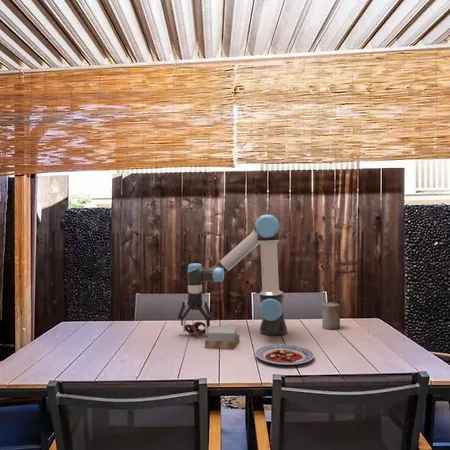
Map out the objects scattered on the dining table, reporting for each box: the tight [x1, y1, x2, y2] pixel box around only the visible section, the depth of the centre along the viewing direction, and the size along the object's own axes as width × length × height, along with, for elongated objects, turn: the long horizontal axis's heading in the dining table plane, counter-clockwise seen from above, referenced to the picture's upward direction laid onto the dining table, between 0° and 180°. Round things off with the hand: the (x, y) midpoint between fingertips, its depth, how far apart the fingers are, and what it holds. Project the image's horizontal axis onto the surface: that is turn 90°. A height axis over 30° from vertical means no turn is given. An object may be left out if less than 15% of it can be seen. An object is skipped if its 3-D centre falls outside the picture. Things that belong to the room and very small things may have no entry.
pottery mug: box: [185, 321, 205, 339], centre depth 208 cm, size 12×10×8 cm
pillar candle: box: [321, 301, 341, 331], centre depth 221 cm, size 10×10×15 cm
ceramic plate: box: [254, 344, 315, 366], centre depth 172 cm, size 26×26×3 cm
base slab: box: [204, 333, 240, 351], centre depth 193 cm, size 14×14×4 cm
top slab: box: [207, 325, 237, 342], centre depth 193 cm, size 13×13×4 cm
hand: (195, 332), depth 208 cm, fingers closed on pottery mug, 12 cm apart
